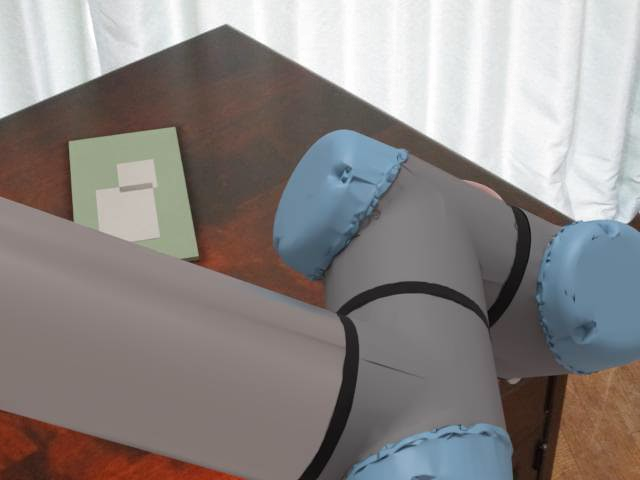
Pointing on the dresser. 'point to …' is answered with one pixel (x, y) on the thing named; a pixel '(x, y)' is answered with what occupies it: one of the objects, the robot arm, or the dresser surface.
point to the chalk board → (134, 190)
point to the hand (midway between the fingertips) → (305, 351)
